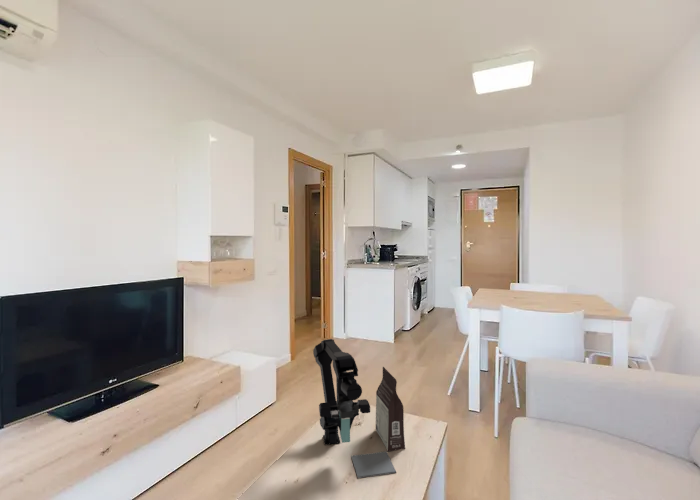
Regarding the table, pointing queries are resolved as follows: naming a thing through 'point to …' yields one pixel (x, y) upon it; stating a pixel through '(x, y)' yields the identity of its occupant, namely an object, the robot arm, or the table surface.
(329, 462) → the table surface
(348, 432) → the slab
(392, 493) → the table surface
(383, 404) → the protein powder
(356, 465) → the mat
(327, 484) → the table surface
